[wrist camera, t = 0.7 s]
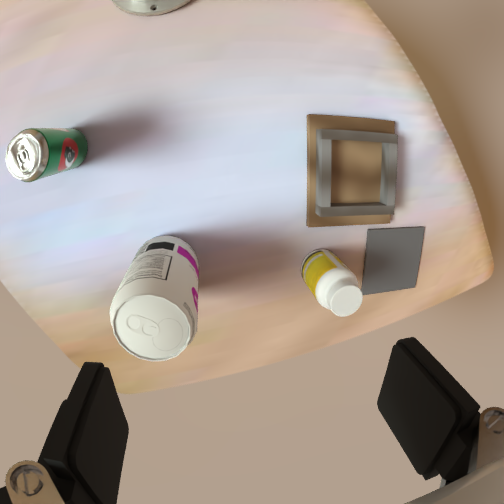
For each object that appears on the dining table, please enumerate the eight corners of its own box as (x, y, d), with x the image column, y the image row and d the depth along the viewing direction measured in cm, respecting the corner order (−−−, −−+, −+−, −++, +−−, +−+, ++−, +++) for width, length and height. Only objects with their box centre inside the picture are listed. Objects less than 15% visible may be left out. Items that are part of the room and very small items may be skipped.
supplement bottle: (295, 283, 44) (318, 321, 34) (304, 245, 42) (331, 276, 33) (331, 286, 45) (360, 322, 36) (341, 250, 43) (374, 280, 34)
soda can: (81, 121, 32) (34, 118, 21) (94, 157, 34) (52, 168, 23) (49, 140, 32) (-4, 145, 21) (62, 175, 34) (13, 193, 23)
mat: (367, 229, 42) (369, 230, 42) (423, 226, 44) (424, 227, 43) (360, 294, 46) (361, 295, 45) (413, 286, 47) (415, 287, 47)
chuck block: (306, 114, 36) (314, 113, 33) (390, 121, 37) (402, 121, 35) (306, 225, 41) (313, 231, 38) (386, 221, 42) (397, 227, 40)
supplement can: (209, 248, 40) (212, 309, 26) (184, 302, 42) (178, 377, 28) (149, 223, 38) (119, 272, 24) (128, 279, 40) (97, 347, 26)
